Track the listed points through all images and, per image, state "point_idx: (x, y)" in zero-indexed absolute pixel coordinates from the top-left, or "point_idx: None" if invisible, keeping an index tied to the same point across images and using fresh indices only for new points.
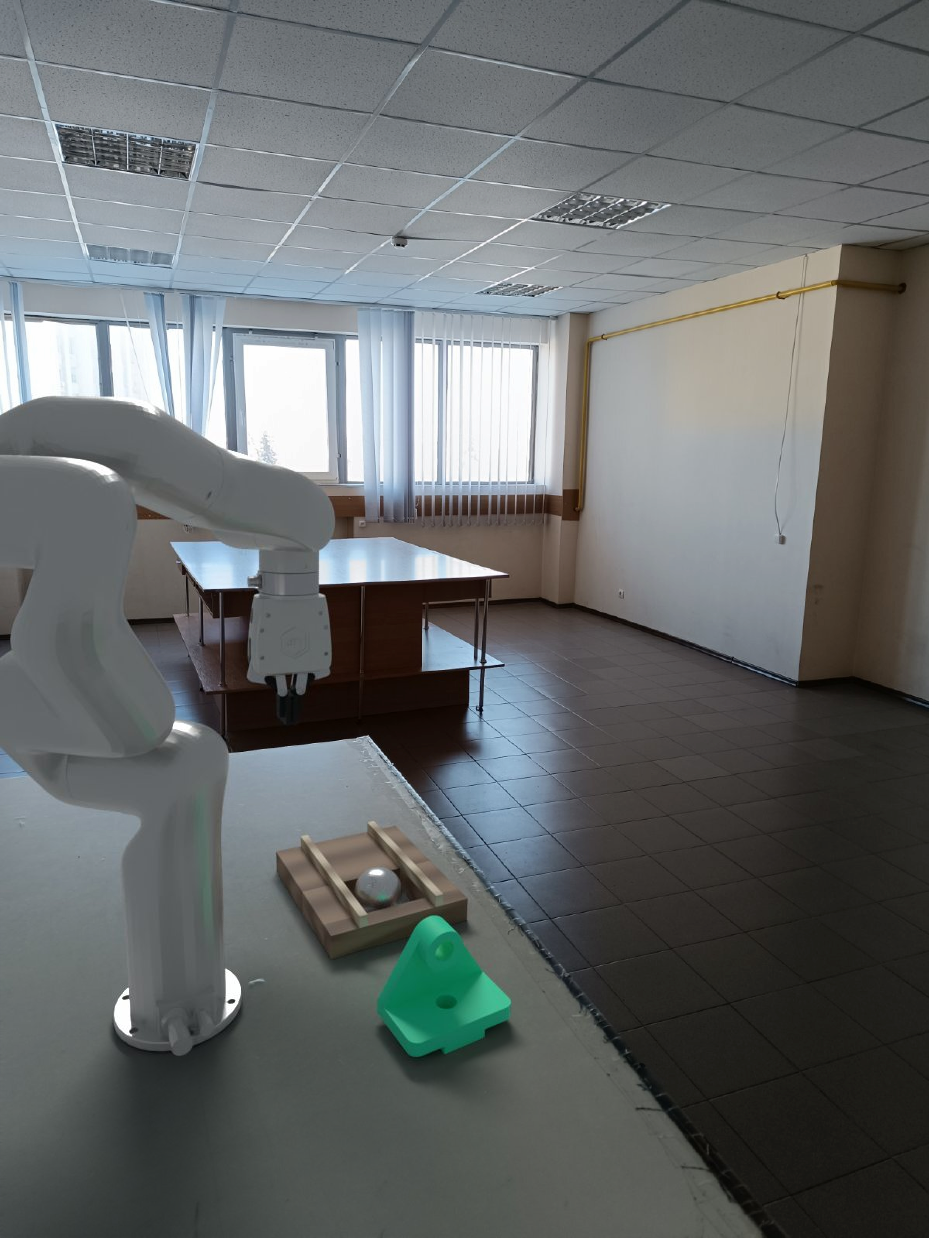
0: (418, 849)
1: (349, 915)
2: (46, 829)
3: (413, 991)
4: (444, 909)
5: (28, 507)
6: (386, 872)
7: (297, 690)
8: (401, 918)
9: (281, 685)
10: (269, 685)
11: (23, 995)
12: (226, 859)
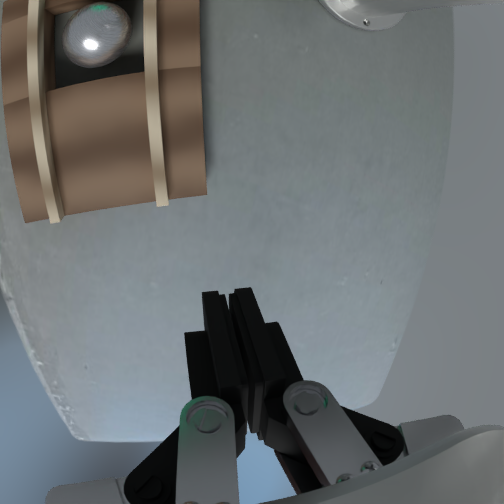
0: (8, 141)
1: None
2: (385, 332)
3: None
4: None
5: None
6: (79, 23)
7: (224, 417)
8: None
9: (328, 426)
10: (373, 421)
11: (448, 78)
12: (257, 236)
